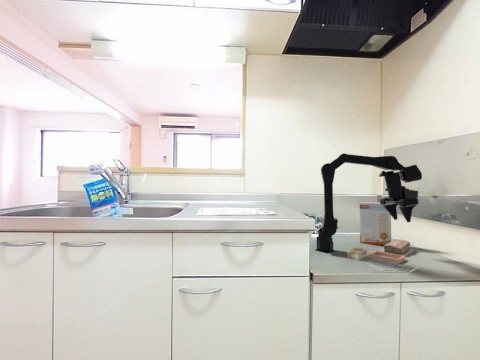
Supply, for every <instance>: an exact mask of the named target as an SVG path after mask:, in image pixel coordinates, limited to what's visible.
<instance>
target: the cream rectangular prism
mask: <svg viewBox="0 0 480 360" xmlns="http://www.w3.org/2000/svg"><path fill="white" fill-rule="evenodd" d="M367 252H368V249H367V248H362V247H357V246H356V247H352V248H349V249H347V252H346V253H347V254H346V256H347V258H346V259H349V258H351V259H350V260H353V259H356V260H355V261H358V260H360V259H362V258H364V257H366V256H367Z"/></svg>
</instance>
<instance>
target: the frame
mask: <svg viewBox="0 0 480 360" xmlns="http://www.w3.org/2000/svg"><path fill="white" fill-rule="evenodd" d="M369 253H370V254H369V258H373V259H378V260H383V261H387V262H392V263H397V265H399V264H401V263H402V262H404V261H405V260H406V256H402V255H396V254H391V253H386V252H381V251H380V250H375V251H373V252H369ZM378 255H381V256H378ZM383 256H386V257H383ZM388 257H391V258H388ZM393 258H396V259H393Z"/></svg>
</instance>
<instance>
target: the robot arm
mask: <svg viewBox="0 0 480 360" xmlns="http://www.w3.org/2000/svg"><path fill="white" fill-rule="evenodd" d="M346 163H347V164H352V165H353V164H354V165H362V166H372V167H375V168H377V169H381V172H380V174H379V175H378V177H379V178H380V177H384V181H385V185H386V188H384V191H385V192H387V194H388V195H387V196H386V197H381V198H380V199H379V203H380V204H381V205H382V206H383V207H384V208H385V209H386V210H387V211H388V212H389V213H390V215H391V218H392V219H394V221H396V220H398V212H397V206H399V207H398V208H399V210H400V213H401V214H402V215H403V217H404V219H405V221H406V222H407V223H411V222H412V221H411V220H412V215H413V209H414V208H415V207H417V205H419V204H420V202H419V199H418V198H419V197H418V196H419V190H414V189H410V188H407V187H406V186H405V185H403V184H402V182H404V183H406V184H407V183H411V182H417V181H421V180H422V178H423V177H422V176H423V175H422V172H421V170H420V169H419V167H418V165H417V164H411V165H409V166H404V165H402V163H400V162H399V161H398V159H397V157H396V156H395V155H394V156H393V155H385V156H384V155H383V156H382V155H381V156H370V155H369V156H367V155H358V154H350V153H341V154H340V155H339V156H337V157H336V158H335V159H334V160H332V161H331V162H328V163H324V164H323V165H322V166H321V168H320V174H321V178H322V179H321V180H322V183H323V210H324V211H323V212H324V215H323V219H322V224H321V227H320V228H319V229H318V230H317V232H316V233H317V235H318V236H316V248H315V249H314V251H316V252H320V253H323V254H324V253H325V254H330V253H332V252H335V249H334V241H333V236H334V235H335V234H336V233H337V230H339V227H338V222H339V220H338V218H337V217H335V216H334V191H333V190H334V188H333V187H334V186H333V184H334V180H335V179H334V178H335V173H336V170H337V169H338V168H339V167H341V166H342V165H343V164H346ZM396 171H397V172H396Z"/></svg>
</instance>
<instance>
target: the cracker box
mask: <svg viewBox="0 0 480 360" xmlns="http://www.w3.org/2000/svg"><path fill="white" fill-rule="evenodd" d="M390 242H392V216H391V215H390V213H389V212H388V211H387V210H386V209H385V208H384V207H383V206H382V205H381V204H380V202H376V201H375V202H373V201H372V202H371V201H361V202H359V243H361V244H370V245H377V246H385V245H386V244H388V243H390Z"/></svg>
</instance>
